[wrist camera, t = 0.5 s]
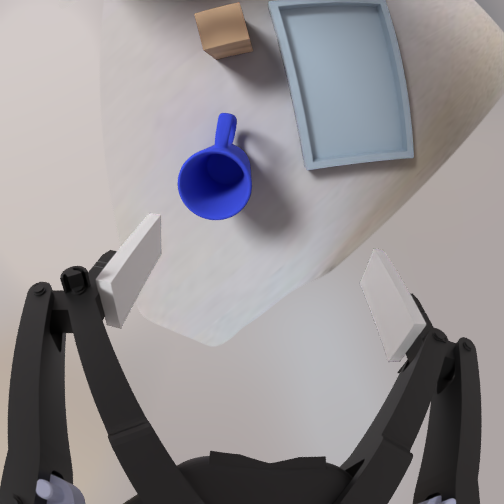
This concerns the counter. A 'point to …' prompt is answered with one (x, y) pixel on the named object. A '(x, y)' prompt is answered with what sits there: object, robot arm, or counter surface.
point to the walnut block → (223, 31)
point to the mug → (217, 176)
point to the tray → (344, 80)
